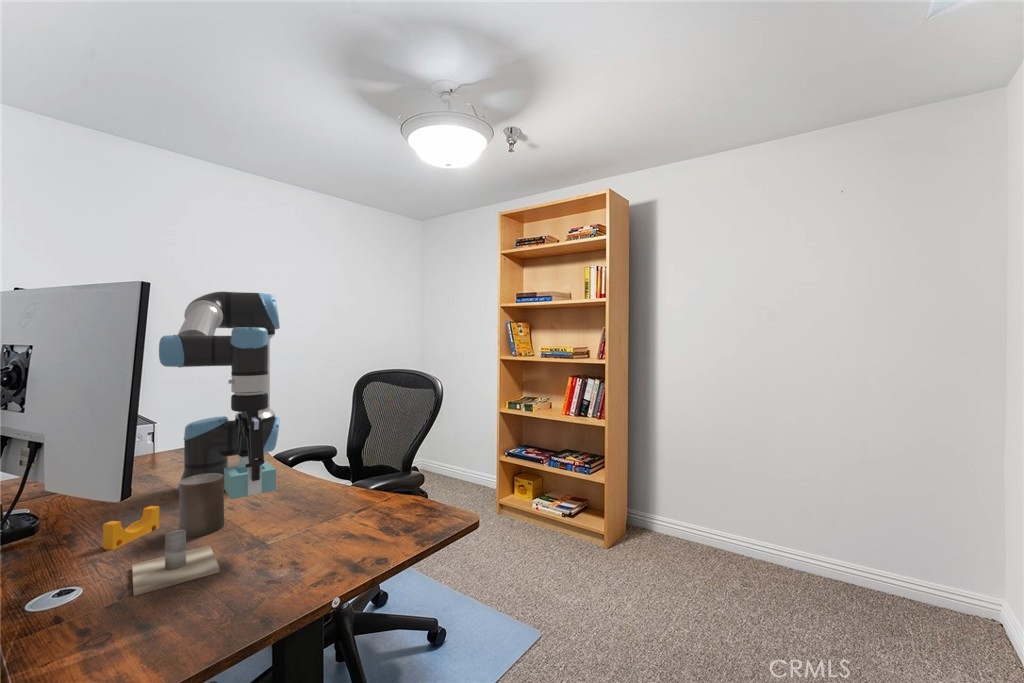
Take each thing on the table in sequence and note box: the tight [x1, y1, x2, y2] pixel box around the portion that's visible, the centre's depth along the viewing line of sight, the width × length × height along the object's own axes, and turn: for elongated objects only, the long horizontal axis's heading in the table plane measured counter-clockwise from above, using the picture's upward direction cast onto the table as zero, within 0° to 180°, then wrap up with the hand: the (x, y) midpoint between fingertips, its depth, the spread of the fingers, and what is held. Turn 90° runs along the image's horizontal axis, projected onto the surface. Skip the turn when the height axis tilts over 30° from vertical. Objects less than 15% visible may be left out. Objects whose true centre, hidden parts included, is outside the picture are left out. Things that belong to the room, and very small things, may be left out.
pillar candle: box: [178, 473, 225, 538], centre depth 117 cm, size 10×10×15 cm
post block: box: [131, 529, 221, 597], centre depth 96 cm, size 14×14×8 cm
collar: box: [224, 460, 277, 500], centre depth 106 cm, size 9×9×5 cm
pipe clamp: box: [102, 505, 160, 551], centre depth 112 cm, size 12×4×6 cm, turn 172°
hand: (250, 488), depth 106 cm, fingers closed on collar, 9 cm apart
